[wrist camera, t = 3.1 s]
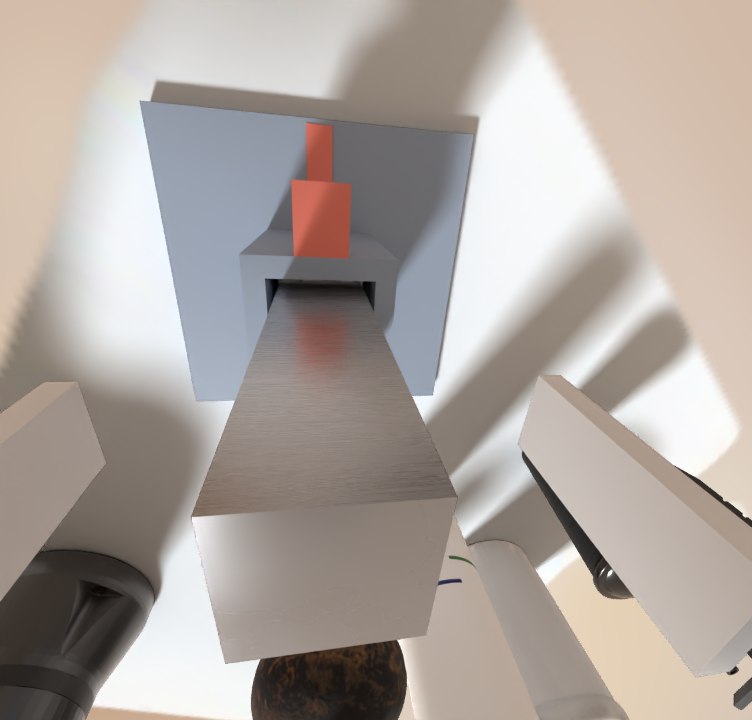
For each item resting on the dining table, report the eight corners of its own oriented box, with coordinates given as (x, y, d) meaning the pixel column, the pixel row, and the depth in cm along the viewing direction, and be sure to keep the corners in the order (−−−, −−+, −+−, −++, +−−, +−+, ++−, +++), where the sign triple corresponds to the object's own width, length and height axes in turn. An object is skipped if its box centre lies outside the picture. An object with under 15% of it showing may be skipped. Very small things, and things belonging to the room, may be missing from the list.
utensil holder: (508, 517, 43) (617, 705, 28) (545, 572, 50) (649, 748, 34) (406, 572, 45) (454, 777, 29) (455, 618, 51) (515, 805, 36)
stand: (200, 393, 30) (142, 495, 20) (148, 104, 21) (1, 34, 11) (429, 388, 33) (476, 474, 23) (467, 137, 24) (569, 103, 14)
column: (291, 310, 26) (217, 669, 7) (288, 250, 24) (177, 510, 5) (348, 311, 27) (431, 638, 7) (350, 253, 25) (468, 489, 6)
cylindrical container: (374, 461, 36) (469, 909, 14) (442, 456, 37) (630, 864, 15) (371, 511, 39) (443, 941, 17) (433, 505, 40) (577, 902, 18)
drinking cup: (497, 470, 39) (647, 707, 21) (529, 414, 36) (733, 636, 18) (554, 478, 41) (734, 701, 23) (587, 425, 38) (823, 635, 20)
